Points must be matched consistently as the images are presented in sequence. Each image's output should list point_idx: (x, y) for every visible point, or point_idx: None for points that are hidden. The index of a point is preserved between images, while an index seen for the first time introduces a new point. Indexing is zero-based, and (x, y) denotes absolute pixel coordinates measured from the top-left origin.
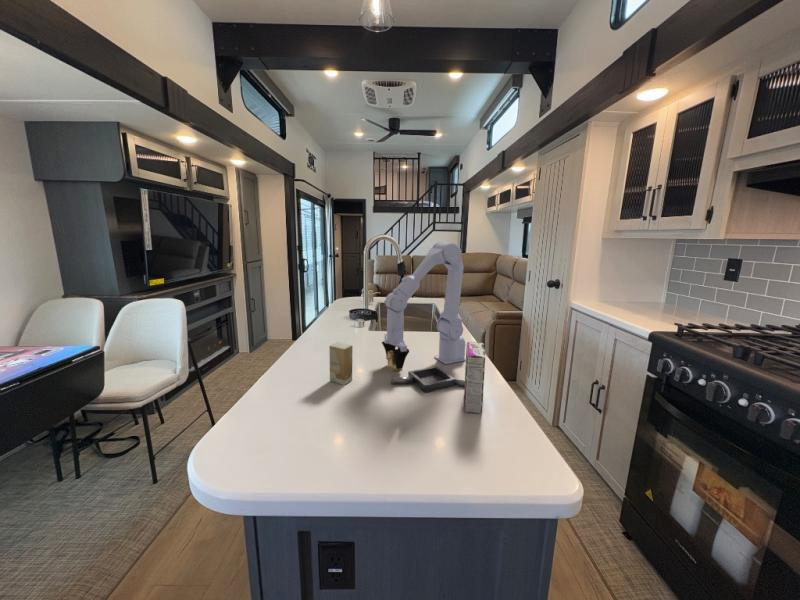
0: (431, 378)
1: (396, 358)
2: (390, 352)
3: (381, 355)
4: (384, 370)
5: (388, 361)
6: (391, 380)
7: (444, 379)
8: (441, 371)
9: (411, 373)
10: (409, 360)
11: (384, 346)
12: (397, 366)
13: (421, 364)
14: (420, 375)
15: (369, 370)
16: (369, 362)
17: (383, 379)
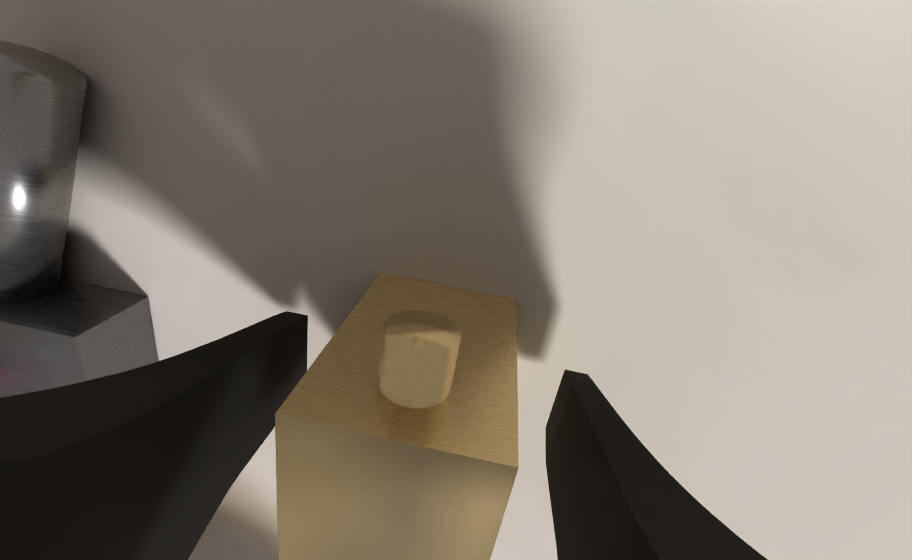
0: None
1: (105, 377)
2: (420, 466)
3: (871, 440)
4: (448, 211)
5: (484, 338)
6: (28, 62)
7: None
8: None
9: (15, 331)
10: (513, 540)
11: (694, 556)
12: (258, 327)
13: None
14: None
15: (578, 18)
16: (831, 187)
17: (213, 42)
